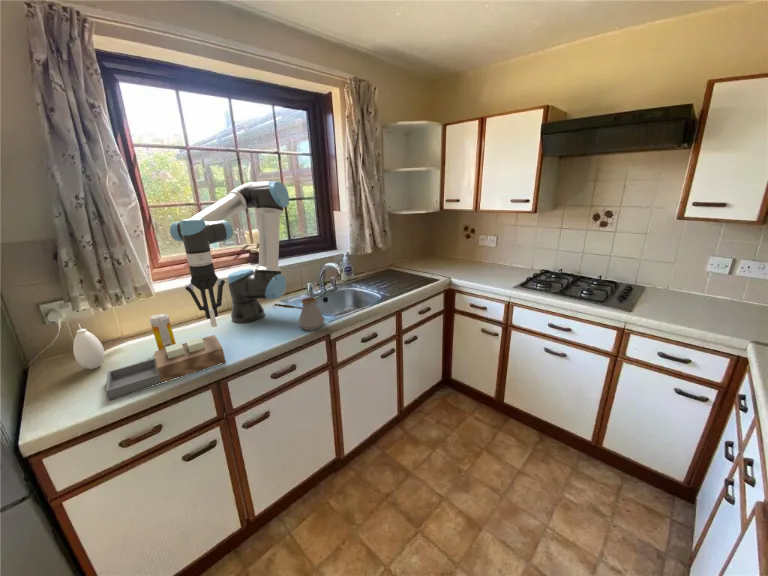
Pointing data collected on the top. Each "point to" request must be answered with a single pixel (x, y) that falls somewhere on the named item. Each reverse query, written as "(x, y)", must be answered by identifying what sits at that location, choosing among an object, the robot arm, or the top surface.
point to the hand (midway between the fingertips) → (214, 325)
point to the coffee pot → (308, 314)
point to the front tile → (175, 350)
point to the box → (132, 378)
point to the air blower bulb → (87, 349)
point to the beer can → (162, 330)
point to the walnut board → (190, 359)
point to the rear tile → (195, 344)
